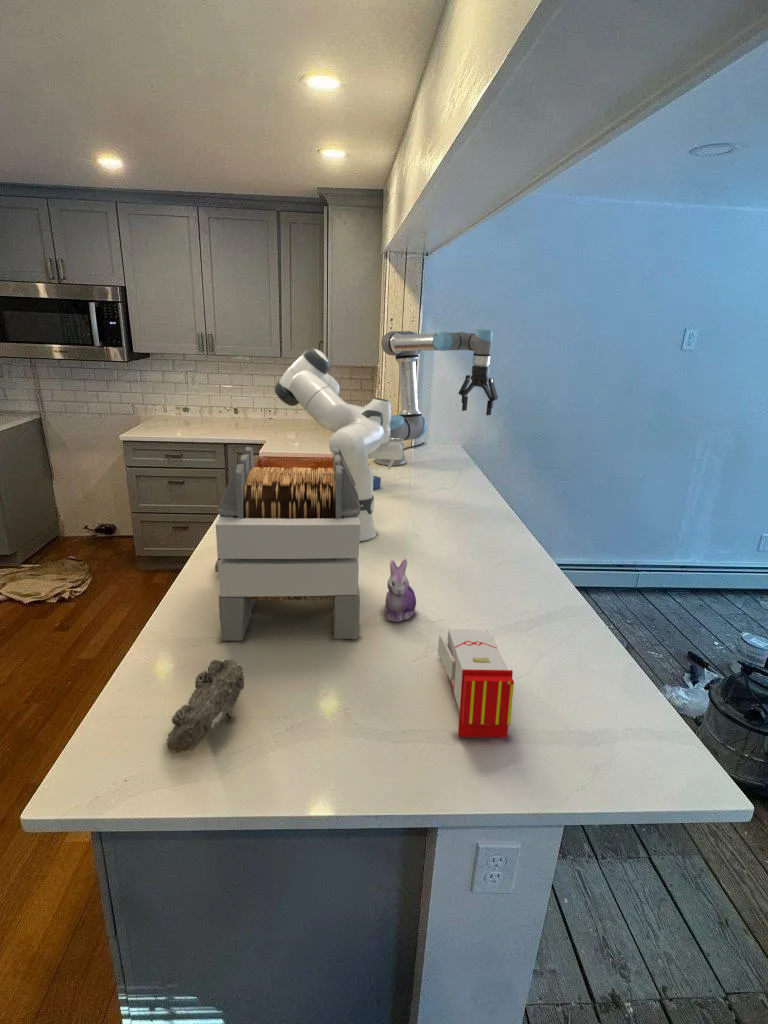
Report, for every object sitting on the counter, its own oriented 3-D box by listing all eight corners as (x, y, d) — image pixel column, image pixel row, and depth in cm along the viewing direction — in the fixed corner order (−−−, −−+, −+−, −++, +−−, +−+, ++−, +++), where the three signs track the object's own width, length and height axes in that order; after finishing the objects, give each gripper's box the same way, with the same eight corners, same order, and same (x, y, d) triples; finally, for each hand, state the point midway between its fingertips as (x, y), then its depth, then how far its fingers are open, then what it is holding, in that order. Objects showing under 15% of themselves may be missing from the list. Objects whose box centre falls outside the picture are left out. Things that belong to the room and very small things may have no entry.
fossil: (192, 660, 117) (244, 628, 112) (224, 691, 120) (276, 661, 115) (142, 746, 98) (202, 712, 93) (182, 779, 101) (242, 748, 96)
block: (372, 490, 246) (373, 479, 245) (365, 487, 249) (365, 477, 248) (380, 488, 249) (380, 477, 248) (372, 485, 252) (373, 475, 251)
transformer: (238, 577, 163) (231, 438, 149) (351, 576, 167) (355, 440, 153) (218, 643, 131) (207, 474, 117) (359, 640, 135) (365, 475, 121)
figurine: (392, 627, 141) (395, 572, 136) (374, 608, 149) (376, 556, 144) (425, 619, 145) (429, 566, 140) (405, 601, 154) (408, 550, 149)
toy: (488, 613, 130) (523, 677, 101) (484, 667, 133) (517, 744, 104) (435, 612, 130) (455, 676, 101) (432, 666, 133) (451, 743, 103)
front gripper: (404, 436, 241) (402, 467, 246) (356, 434, 241) (355, 465, 246) (404, 439, 236) (402, 471, 240) (355, 437, 235) (354, 469, 240)
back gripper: (509, 368, 249) (503, 416, 256) (463, 362, 265) (459, 408, 272) (499, 368, 244) (494, 417, 251) (453, 363, 260) (449, 409, 267)
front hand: (378, 468), depth 243 cm, fingers open, 8 cm apart
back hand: (476, 412), depth 261 cm, fingers open, 13 cm apart
